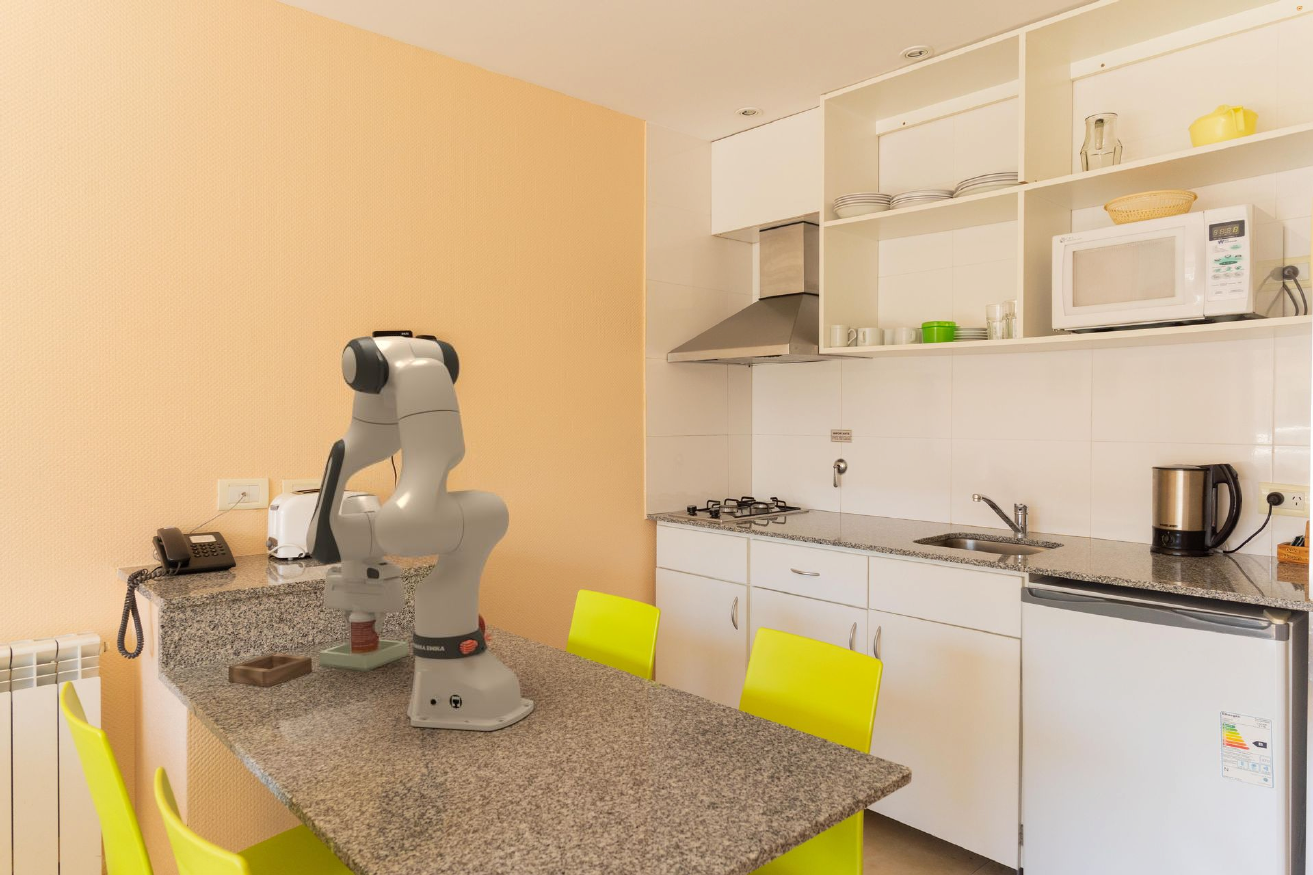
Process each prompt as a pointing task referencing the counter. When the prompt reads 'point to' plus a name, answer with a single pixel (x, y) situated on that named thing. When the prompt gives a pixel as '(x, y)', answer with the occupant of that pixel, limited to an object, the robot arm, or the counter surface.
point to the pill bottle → (362, 632)
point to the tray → (345, 660)
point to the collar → (270, 669)
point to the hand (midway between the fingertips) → (364, 630)
